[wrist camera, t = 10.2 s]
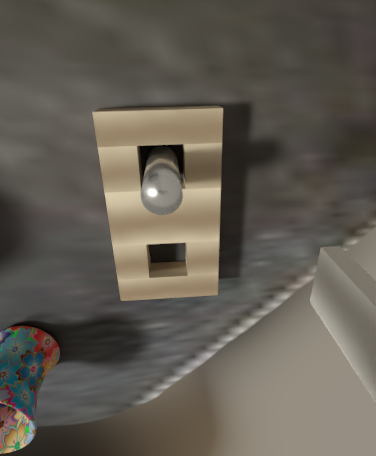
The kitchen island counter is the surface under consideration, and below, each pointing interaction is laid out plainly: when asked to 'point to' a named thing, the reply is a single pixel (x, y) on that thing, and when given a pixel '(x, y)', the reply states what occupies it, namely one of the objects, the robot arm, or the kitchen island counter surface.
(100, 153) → the hole block
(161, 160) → the peg
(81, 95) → the kitchen island counter surface
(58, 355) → the mug
